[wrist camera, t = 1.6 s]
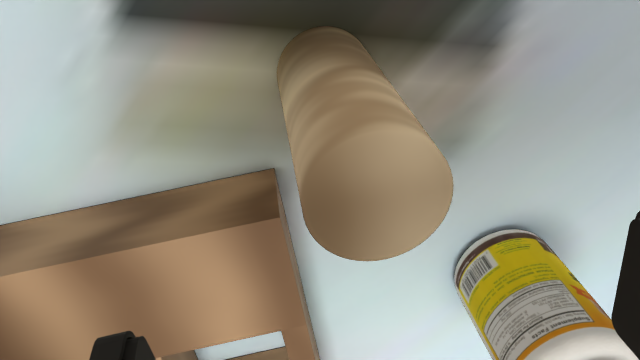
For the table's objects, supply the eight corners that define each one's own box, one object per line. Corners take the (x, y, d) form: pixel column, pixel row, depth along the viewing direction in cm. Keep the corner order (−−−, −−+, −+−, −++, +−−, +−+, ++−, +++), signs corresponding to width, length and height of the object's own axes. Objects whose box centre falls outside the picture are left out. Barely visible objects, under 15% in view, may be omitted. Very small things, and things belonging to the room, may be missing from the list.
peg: (364, 17, 21) (451, 116, 12) (374, 107, 23) (454, 244, 14) (267, 36, 21) (288, 149, 12) (286, 125, 23) (316, 274, 14)
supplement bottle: (544, 287, 30) (667, 452, 22) (453, 310, 30) (540, 485, 22) (547, 212, 28) (691, 368, 19) (446, 237, 27) (544, 406, 19)
